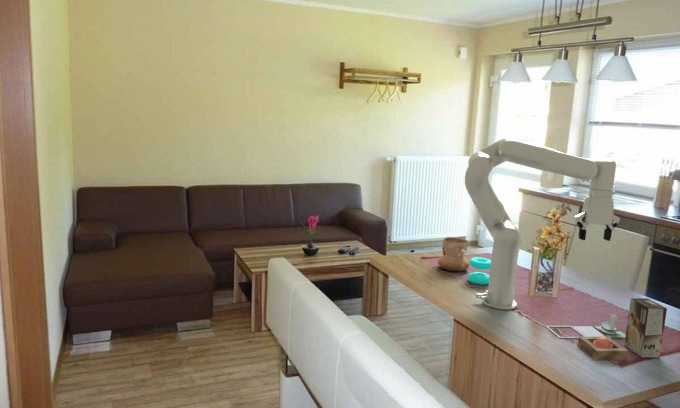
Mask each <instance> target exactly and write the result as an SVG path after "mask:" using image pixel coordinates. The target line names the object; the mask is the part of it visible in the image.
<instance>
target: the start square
mask: <svg viewBox="0 0 680 408" xmlns="http://www.w3.org/2000/svg"><path fill="white" fill-rule="evenodd" d="M545 328H546V329H548V330H549V332H551V333H553V334H554V336H556V337H558V339H577V340H578V339H579V337H586V336H584V335H583V334H582V333H580V332H579V331H578V330H576V329H575V328H574V327H573V326H572V325H545ZM552 328H571V329H572V330H573V331H575V332H576V333H577V334H579V335H580V336H560V335H559V334H558V333H557V332H555V331H554V329H552Z"/></svg>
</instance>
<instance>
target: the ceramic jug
mask: <svg viewBox="0 0 680 408" xmlns="http://www.w3.org/2000/svg"><path fill="white" fill-rule="evenodd" d="M469 244H470V241H469V240H467V239H464V238H460V237H452V236H447V237H443V238H442V256H440V257H439V258H438V260H437V264H438V265H439V267H441V269H444V270H447V271H450V272H462V271H465V270H467V269H468V268H469V266H471V265H470V263H469V261H470V260H468V259H467V258H466V257H465V253H467V249H468V247H469Z"/></svg>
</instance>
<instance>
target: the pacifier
mask: <svg viewBox="0 0 680 408" xmlns="http://www.w3.org/2000/svg"><path fill="white" fill-rule="evenodd" d="M617 322H618V316H617V315H616V314H614V313H613V314H611V315H610V317H609V320H603V321H602V323H601V325H600V326H599V325H598V326H599V327H598V328H599V329H600V330H601V331H602V332H604V333H607V334H615V332H616V331H621V332H622V331H623V329H618V328H616V323H617ZM602 328H604V329H606V331H605V330H603V329H602ZM615 328H616V329H615ZM602 332H601V333H602Z"/></svg>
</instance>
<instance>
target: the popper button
mask: <svg viewBox="0 0 680 408" xmlns="http://www.w3.org/2000/svg"><path fill="white" fill-rule="evenodd" d="M593 344H594V345H595V346H597V347H598V348H613V345H612V344H611V343H610V341H609V340H608V339H607V338H604V337H600V338H598V339H596V340H594V341H593Z"/></svg>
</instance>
